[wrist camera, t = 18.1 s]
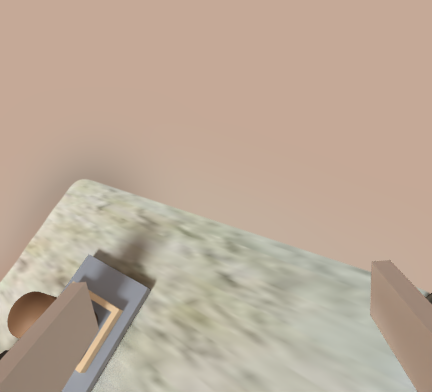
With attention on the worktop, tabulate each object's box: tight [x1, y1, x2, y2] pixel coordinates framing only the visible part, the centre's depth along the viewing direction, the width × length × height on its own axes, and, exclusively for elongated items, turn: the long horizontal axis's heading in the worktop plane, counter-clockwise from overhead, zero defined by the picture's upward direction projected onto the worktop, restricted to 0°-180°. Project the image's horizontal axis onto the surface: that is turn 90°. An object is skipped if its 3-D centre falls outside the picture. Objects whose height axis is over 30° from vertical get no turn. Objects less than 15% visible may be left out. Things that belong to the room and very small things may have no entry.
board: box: [62, 255, 151, 392], centre depth 46 cm, size 12×18×3 cm, turn 152°
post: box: [8, 292, 98, 338], centre depth 40 cm, size 5×5×12 cm
